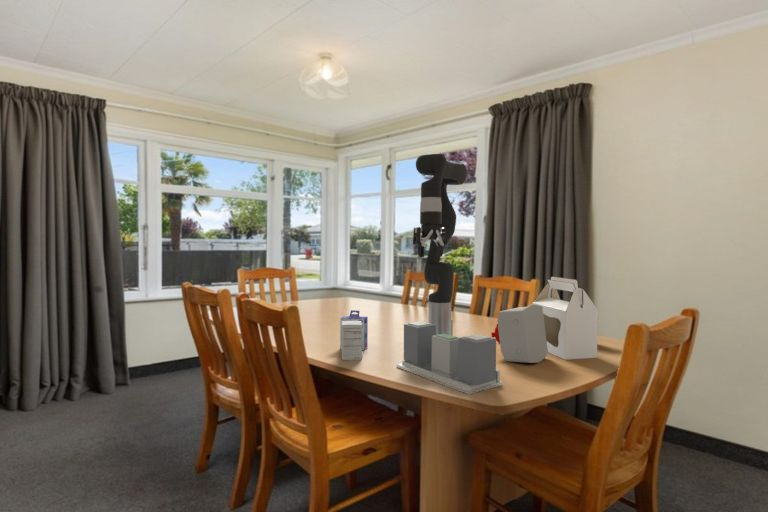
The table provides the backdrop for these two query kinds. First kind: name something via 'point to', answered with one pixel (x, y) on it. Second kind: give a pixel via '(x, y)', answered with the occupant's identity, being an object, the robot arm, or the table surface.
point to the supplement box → (351, 340)
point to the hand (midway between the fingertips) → (430, 257)
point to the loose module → (445, 353)
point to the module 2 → (477, 359)
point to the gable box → (569, 320)
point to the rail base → (448, 377)
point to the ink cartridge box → (364, 327)
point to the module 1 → (418, 342)
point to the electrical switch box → (522, 334)
